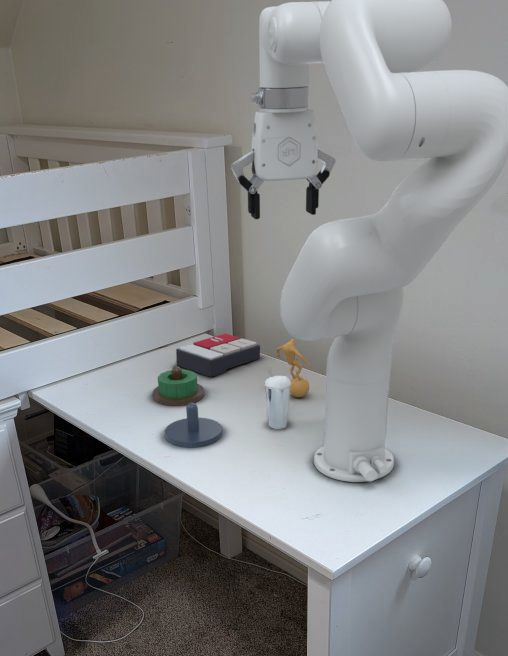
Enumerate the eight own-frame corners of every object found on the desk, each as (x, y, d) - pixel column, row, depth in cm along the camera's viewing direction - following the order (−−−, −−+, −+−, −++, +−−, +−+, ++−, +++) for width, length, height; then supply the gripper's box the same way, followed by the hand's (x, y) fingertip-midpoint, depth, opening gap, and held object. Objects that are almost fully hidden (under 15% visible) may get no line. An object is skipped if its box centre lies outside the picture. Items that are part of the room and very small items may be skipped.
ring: (201, 395, 143) (200, 380, 142) (163, 400, 142) (161, 385, 140) (192, 381, 149) (191, 367, 148) (156, 386, 148) (154, 372, 146)
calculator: (261, 341, 161) (210, 357, 151) (260, 360, 163) (210, 377, 153) (225, 331, 167) (175, 345, 158) (225, 350, 169) (175, 365, 160)
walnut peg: (209, 401, 143) (207, 372, 140) (158, 408, 141) (155, 379, 138) (197, 382, 151) (195, 354, 148) (149, 389, 149) (146, 361, 146)
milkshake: (280, 416, 136) (280, 364, 131) (295, 427, 132) (295, 374, 127) (258, 421, 134) (257, 369, 129) (272, 433, 130) (272, 379, 125)
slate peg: (228, 442, 127) (227, 410, 124) (171, 451, 125) (168, 419, 122) (214, 419, 136) (212, 388, 133) (160, 427, 134) (157, 396, 131)
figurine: (321, 399, 142) (323, 338, 136) (300, 408, 138) (300, 347, 133) (290, 387, 147) (290, 329, 141) (268, 396, 144) (267, 337, 138)
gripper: (235, 104, 110) (238, 224, 119) (345, 99, 114) (340, 215, 123) (224, 101, 117) (227, 215, 125) (328, 96, 120) (324, 207, 129)
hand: (283, 215), depth 124 cm, fingers open, 9 cm apart
